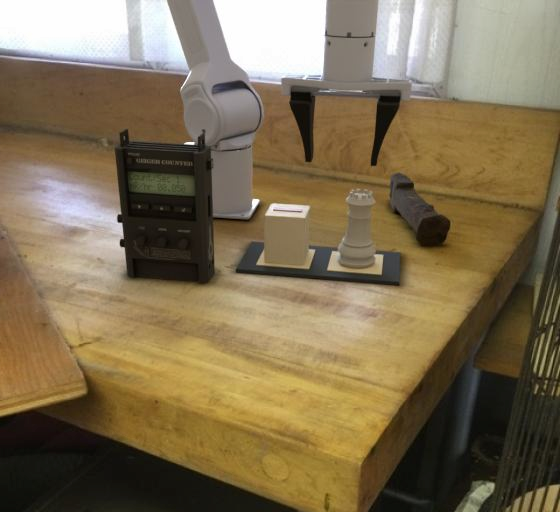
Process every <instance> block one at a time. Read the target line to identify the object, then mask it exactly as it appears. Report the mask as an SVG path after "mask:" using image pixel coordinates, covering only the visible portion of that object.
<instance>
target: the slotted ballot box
mask: <svg viewBox="0 0 560 512" xmlns="http://www.w3.org/2000/svg"><path fill="white" fill-rule="evenodd" d="M310 227H311V205H306V204H305V205H303V204H291V203H289V204H288V203H273V202H272V203H271V204H270V205H269V207H268V208H267V210H266V212H265V214H264V235H263V237H264V241H263V242H264V262H265V263H278V264H291V265H304V263H305V260H306V257H307V254H308V252H309V246H310V231H311V229H310Z"/></svg>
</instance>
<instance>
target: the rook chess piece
mask: <svg viewBox="0 0 560 512" xmlns="http://www.w3.org/2000/svg"><path fill="white" fill-rule="evenodd" d="M345 202H346V204H347V206H348V211H347V213H346V216H347V224H346V230H345V235H344V237H343V238H342V240H341V242H340V243H339V245H338V247H337V248H338V251H339V254H338V255H337V259H338V261H339V262H340V264H342V265H344V266H347V267H350V268H365V267H369V266H371V265H372V264H373V263H374V262H375V260H376V258H375V257H374V254H375V252H376V251H377V249H376V247H375V245H374V244H373V242H374V241H373V240H372V235H371V218H372V217H373V214H372V212H371V209H372V208H373V206H374V205H375V204H376V203H377V201H376V199H375V197H374V192H373V191H372V190H370V189H366V188H365V189H364V190H363V192H362V190H361V188H355V189H350V190H349V194H348V196H347V197H346V198H345Z"/></svg>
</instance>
